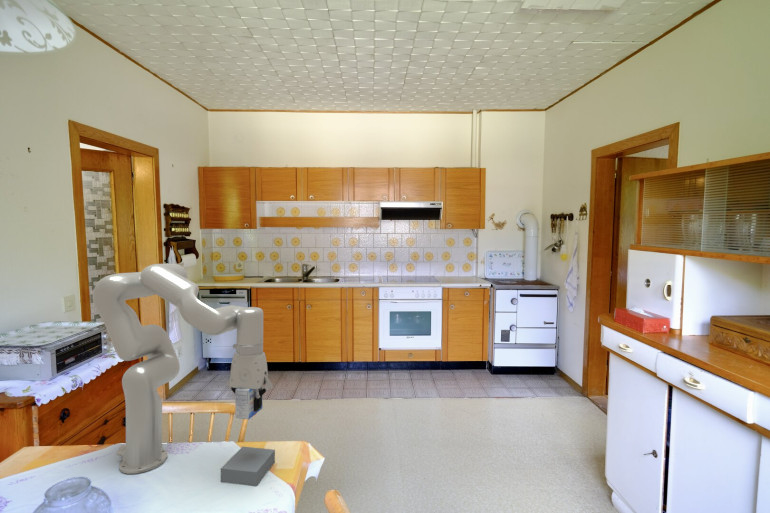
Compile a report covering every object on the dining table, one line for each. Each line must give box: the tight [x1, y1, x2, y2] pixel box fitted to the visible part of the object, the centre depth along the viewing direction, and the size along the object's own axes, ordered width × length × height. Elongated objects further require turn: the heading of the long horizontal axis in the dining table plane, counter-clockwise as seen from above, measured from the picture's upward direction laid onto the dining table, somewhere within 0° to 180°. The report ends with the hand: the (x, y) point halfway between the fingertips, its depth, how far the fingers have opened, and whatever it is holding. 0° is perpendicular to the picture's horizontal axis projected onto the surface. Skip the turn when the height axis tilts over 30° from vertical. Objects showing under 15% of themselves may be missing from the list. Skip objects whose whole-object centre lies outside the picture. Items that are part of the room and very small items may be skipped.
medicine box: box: [234, 385, 264, 421], centre depth 111 cm, size 8×4×9 cm, turn 168°
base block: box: [220, 446, 276, 487], centre depth 111 cm, size 11×12×4 cm
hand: (249, 408), depth 111 cm, fingers closed on medicine box, 4 cm apart
